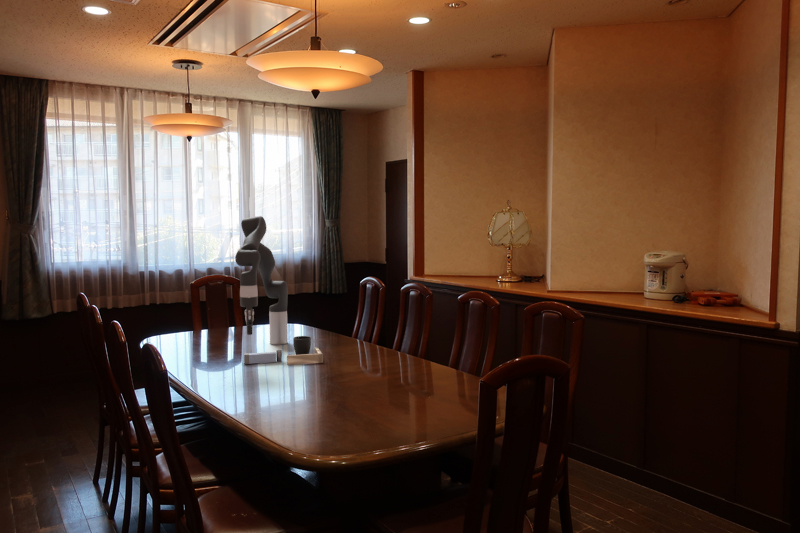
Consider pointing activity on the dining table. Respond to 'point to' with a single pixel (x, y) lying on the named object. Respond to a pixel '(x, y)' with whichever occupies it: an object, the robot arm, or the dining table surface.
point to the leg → (259, 357)
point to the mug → (302, 344)
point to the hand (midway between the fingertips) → (249, 334)
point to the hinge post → (279, 355)
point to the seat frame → (305, 358)
